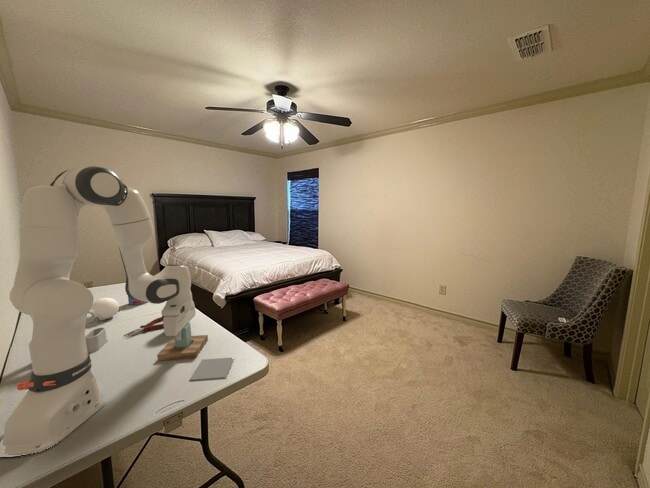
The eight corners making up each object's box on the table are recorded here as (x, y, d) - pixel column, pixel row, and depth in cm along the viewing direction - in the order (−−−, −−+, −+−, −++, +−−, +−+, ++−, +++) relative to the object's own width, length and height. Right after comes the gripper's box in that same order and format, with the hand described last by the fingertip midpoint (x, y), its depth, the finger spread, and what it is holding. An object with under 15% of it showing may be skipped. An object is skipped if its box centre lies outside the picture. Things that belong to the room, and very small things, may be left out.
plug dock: (196, 358, 102) (195, 352, 102) (157, 360, 101) (157, 354, 101) (208, 340, 116) (207, 334, 116) (174, 342, 115) (174, 336, 115)
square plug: (187, 349, 106) (185, 328, 105) (175, 350, 106) (173, 328, 105) (191, 343, 111) (190, 323, 109) (180, 344, 110) (178, 323, 109)
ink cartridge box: (128, 305, 160) (125, 282, 158) (130, 302, 165) (127, 280, 163) (147, 302, 164) (145, 280, 162) (149, 300, 169) (146, 278, 167)
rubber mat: (226, 378, 90) (226, 376, 90) (189, 380, 89) (189, 379, 89) (234, 358, 102) (234, 357, 102) (202, 360, 101) (202, 359, 101)
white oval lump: (120, 321, 142) (109, 317, 150) (125, 298, 144) (113, 296, 152) (91, 322, 131) (80, 318, 139) (96, 298, 133) (85, 295, 141)
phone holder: (110, 340, 118) (104, 301, 115) (98, 351, 108) (92, 309, 106) (61, 346, 113) (54, 306, 110) (44, 359, 103) (37, 315, 101)
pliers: (119, 335, 123) (118, 330, 122) (164, 319, 140) (164, 315, 139) (130, 342, 117) (130, 336, 116) (176, 324, 134) (176, 320, 133)
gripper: (183, 295, 116) (185, 325, 118) (158, 313, 96) (162, 349, 97) (198, 294, 116) (200, 324, 118) (177, 312, 96) (180, 348, 98)
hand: (182, 336), depth 108 cm, fingers closed on square plug, 4 cm apart
